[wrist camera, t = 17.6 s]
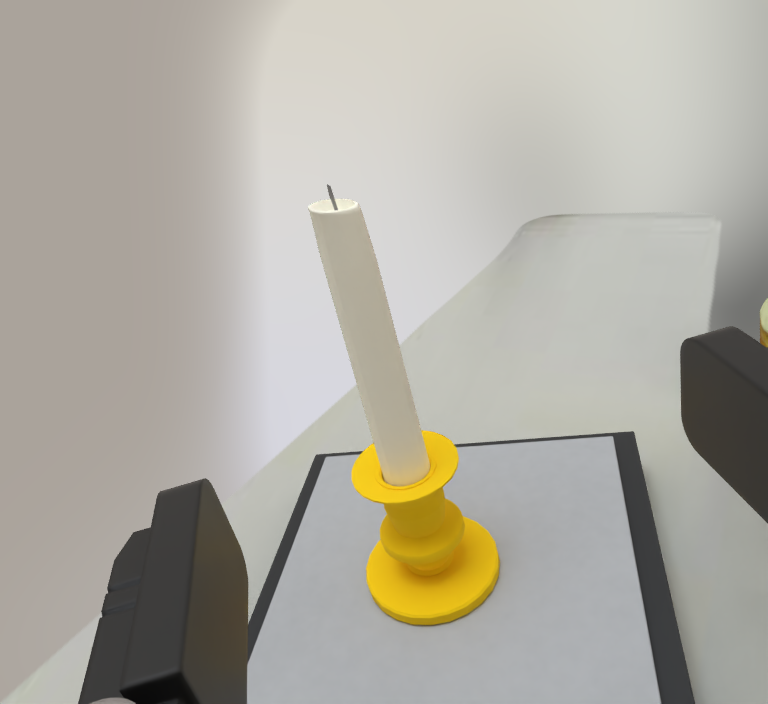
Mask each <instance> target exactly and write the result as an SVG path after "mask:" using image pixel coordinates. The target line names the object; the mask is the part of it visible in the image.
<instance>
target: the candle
mask: <svg viewBox="0 0 768 704" xmlns="http://www.w3.org/2000/svg"><path fill="white" fill-rule="evenodd" d="M327 187H328V192H329V196H330V199H328V200H323V201H318V202H315V203H312V204H310V205H309V207H308V210H309V212H310V215H311V219H312V224H313V228H314V232H315V236H316V240H317V244H318V248H319V253H320V257H321V260H322V263H323V267H324V271H325V274H326V278H327V281H328V284H329V288H330V292H331V295H332V298H333V302H334V306H335V309H336V313H337V316H338V320H339V323H340V327H341V330H342V334H343V337H344V341H345V344H346V347H347V351H348V354H349V358H350V361H351V365H352V369H353V372H354V376H355V379H356V383H357V386H358V390H359V393H360V397H361V400H362V404H363V407H364V411H365V414H366V418H367V421H368V425H369V428H370V432H371V435H372V439H373V442H374V443H373V444H372V445H370V446H369V447H368V448H367V449H365V450H364V451H363V452H362V453H361V454H360V456H359V457H358V458H357V460H356V461H355V463H354V465H353V468H352V471H351V480H352V483H353V485H354V487H355V490H356V491H357V492H358V493H359V494H360V495H361V496H362V497H364V498H366V499H368V500H370V501H372V502H376V503H381V504H384V509H385V511H386V513H387V515H386V516H385V518H384V519H383V521H382V524H381V527H380V539H381V540H380V541H379V542H378V543H377V544H376V546H375V547H374V549H373V551H372V552H371V554H370V556H369V560H368V563H367V567H366V581H367V584H368V587H369V590H370V592H371V595H372V597H373V600H374V602H375V603H376V604H377V605H378V606H379V607H380V609H381V610H382V611H383V612H384V613H386V614H388V615H389V616H391V617H393V618H394V619H396V620H399V621H402V622H406V623H409V624H413V625H435V624H440V623H445V622H450V621H453V620H455V619H457V618H459V617H462V616H464V615H466V614H468V613H469V612H471V611H472V610H474V609H475V608H476V607H478V606H479V605H480V604H482V603H483V601H484V600H485V599H486V598H487V596H488V595H489V594H490V593H491V591H492V590H493V588H494V586H495V583H496V581H497V579H498V576H499V567H500V559H499V555H498V551H497V547H496V543H495V541H494V539H493V538H492V536H491V535H490V533H489V532H488V530H486V529H485V528H484V527H483V526H481V525H480V524H479V523H477V522H476V521H473V520H471V519H469V518H467V517H464V516H463V515H462V512H461V511H460V509H459V508H458V506H457V505H456V504H454V503H453V502H452V501H450V500H448V499H446V498H445V496H444V490H443V487H444V486H445V485H446V484H447V483H448V482H449V481H450V480H451V479H452V477H453V476H454V474H455V472H456V470H457V468H458V463H459V456H458V452H457V448H456V447H455V445H454V444H453V443H452V441H451V440H449V439H448V438H446V437H445V436H443V435H440V434H438V433H435V432H431V431H422V430H421V428H420V424H419V420H418V416H417V412H416V409H415V405H414V401H413V397H412V393H411V389H410V386H409V382H408V378H407V374H406V370H405V366H404V363H403V359H402V355H401V351H400V347H399V343H398V340H397V336H396V332H395V328H394V324H393V320H392V317H391V313H390V309H389V305H388V302H387V297H386V294H385V290H384V287H383V282H382V278H381V275H380V271H379V267H378V263H377V259H376V256H375V253H374V249H373V246H372V243H371V240H370V237H369V234H368V230H367V227H366V224H365V220H364V217H363V214H362V211H361V208H360V205H359V204H358V203H357V202H355V201H353V200H349V199H334V196H333V193H332V190H331V187H330V186H329V185H327Z"/></svg>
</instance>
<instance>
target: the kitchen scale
mask: <svg viewBox="0 0 768 704" xmlns="http://www.w3.org/2000/svg"><path fill="white" fill-rule="evenodd" d="M455 447H456V448H457V452H458V456H459V463H458V468H457V470H456V472H455V474H454V476H453V477H452V479H451V480H450V481H449V482H448V483H447V484H446V485H445V486H444V487H443V490H444V496H445V498H446V499H448V500H450V501H452V502H453V503H454V504H456V505H457V506H458V508H459V509H460V511H461V512H462V515H463V516H464V517H467V518H469V519H471V520H473V521H476V522H477V523H479V524H480V525H481V526H483V527H484V528H485V529H486V530H488V532H489V533H490V535H491V536H492V538H493V539H494V541H495V543H496V547H497V551H498V555H499V559H500V567H499V576H498V579H497V581H496V583H495V586H494V588H493V590H492V591H491V593H490V594H489V595H488V596H487V598H486V599H485V600H484V601H483V603H482V604H480V605H479V606H478V607H476V608H475V609H474V610H472V611H471V612H469V613H468V614H466V615H464V616H462V617H459V618H457V619H455V620H453V621H450V622H445V623H440V624H435V625H413V624H409V623H406V622H402V621H399V620H396V619H394V618H393V617H391V616H389V615H388V614H386V613H384V612H383V611H382V610H381V609H380V607H379V606H378V605H377V604H376V603H375V602H374V600H373V597H372V595H371V592H370V590H369V587H368V584H367V581H366V567H367V563H368V560H369V556H370V554H371V552H372V551H373V549H374V547H375V546H376V544H377V543H378V542H379V541H380V540H381V539H380V527H381V524H382V521H383V519H384V518H385V516H386V515H387V513H386V511H385V509H384V504H381V503H376V502H372V501H370V500H368V499H366V498H364V497H362V496H361V495H360V494H359V493H358V492H357V491H356V490H355V487H354V485H353V483H352V480H351V471H352V468H353V465H354V463H355V461H356V460H357V458H358V457H359V456H360V454H361V453H362V452H363V451H360V452H346V453H332V454H319V455H316V456H315V458H314V461H313V463H312V466H311V468H310V471H309V473H308V476H307V478H306V481H305V483H304V486H303V488H302V491H301V493H300V496H299V498H298V501H297V503H296V506H295V508H294V511H293V513H292V516H291V518H290V521H289V523H288V526H287V528H286V531H285V534H284V536H283V539H282V541H281V544H280V546H279V549H278V551H277V554H276V556H275V559H274V561H273V564H272V566H271V569H270V571H269V574H268V576H267V579H266V581H265V584H264V586H263V589H262V591H261V594H260V596H259V599H258V601H257V604H256V606H255V609H254V611H253V614H252V616H251V619H250V621H249V624H248V656H247V704H695V701H694V697H693V692H692V688H691V683H690V679H689V675H688V670H687V666H686V661H685V657H684V652H683V648H682V643H681V639H680V634H679V630H678V626H677V621H676V617H675V612H674V608H673V603H672V599H671V594H670V590H669V585H668V581H667V577H666V572H665V568H664V563H663V559H662V554H661V550H660V545H659V541H658V536H657V532H656V528H655V523H654V519H653V514H652V510H651V505H650V501H649V496H648V492H647V487H646V483H645V479H644V474H643V470H642V465H641V461H640V456H639V452H638V447H637V443H636V438H635V434H634V432H633V431H632V432H618V433H604V434H591V435H577V436H564V437H550V438H536V439H523V440H509V441H496V442H482V443H468V444H455Z"/></svg>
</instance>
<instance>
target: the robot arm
mask: <svg viewBox="0 0 768 704" xmlns="http://www.w3.org/2000/svg"><path fill="white" fill-rule="evenodd" d="M680 363H681V416H682V423H683V427H684V430H685V433H686V435H687V437H688V439H689V441H690V443H691V445H692V446H693V448H694V449H695V450H696V451H697V452H698V454H699V455H700V456H701V457H702V458H703V459H704V460H705V461H706V462H707V463H708V464H709V465H710V466H711V467H712V468H713V469H714V470H715V471H716V472H717V473H718V474H719V475H720V476H721V477H722V478H723V479H724V480H725V481H726V482H727V483H728V484H729V485H730V486H731V487H732V488H733V489H734V490H735V491H736V492H737V493H738V494H739V495H740V496H741V497H742V498H743V499H744V500H745V501H746V502H747V503H748V504H749V505H750V506H751V507H752V508H753V509H754V510H755V511H756V512H757V513H758V514H759V515H760V516H761V517H762V518H763V519H764V520H765V521H766V522H767V523H768V347H765V346H764V345H762V344H761V343H759V342H758V341H756V340H755V339H753V338H752V337H750V336H749V335H747V334H746V333H744V332H743V331H741V330H739V329H738V328H735V327H731V326H730V327H726V328H723V329H719V330H716V331H712V332H709V333H705V334H702V335H698V336H695V337H692V338H688V339H686V340H684V342H683V343H682V346H681V351H680ZM101 612H102V618H100V619H99V623H98V627H97V631H96V635H95V639H94V643H93V647H92V651H91V655H90V659H89V663H88V667H87V671H86V675H85V679H84V683H83V687H82V691H81V695H80V699H79V702H78V704H247V656H248V576H247V569H246V564H245V560H244V556H243V553H242V550H241V547H240V545H239V543H238V541H237V538H236V536H235V534H234V532H233V530H232V527H231V525H230V523H229V521H228V519H227V516H226V514H225V512H224V510H223V508H222V506H221V504H220V501H219V499H218V497H217V495H216V492H215V490H214V488H213V486H212V485H211V483H210V482H209V480H207V479H202V480H198V481H195V482H191V483H188V484H184V485H181V486H178V487H174V488H171V489H167V490H164V491H160V493H159V494H158V496H157V499H156V505H155V509H154V515H153V519H152V525H151V528H147V529H144V530H140V531H137V532H134V533H133V534H132V535H131V537H130V539H129V540H128V541H127V543H126V544H125V546H124V547H123V549H122V550H121V552H120V553H119V554H118V556H117V557H116V559H115V560H114V564H113V568H112V572H111V576H110V580H109V584H108V594H106V596H105V600H104V603H103V608H102V611H101Z"/></svg>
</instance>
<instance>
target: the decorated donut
mask: <svg viewBox="0 0 768 704" xmlns="http://www.w3.org/2000/svg"><path fill="white" fill-rule="evenodd" d="M760 343H761V344H762V345H764V346H765V347H768V298H767V299H766V301H765V302H764V304H763V306H762V307H761V310H760Z"/></svg>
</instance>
